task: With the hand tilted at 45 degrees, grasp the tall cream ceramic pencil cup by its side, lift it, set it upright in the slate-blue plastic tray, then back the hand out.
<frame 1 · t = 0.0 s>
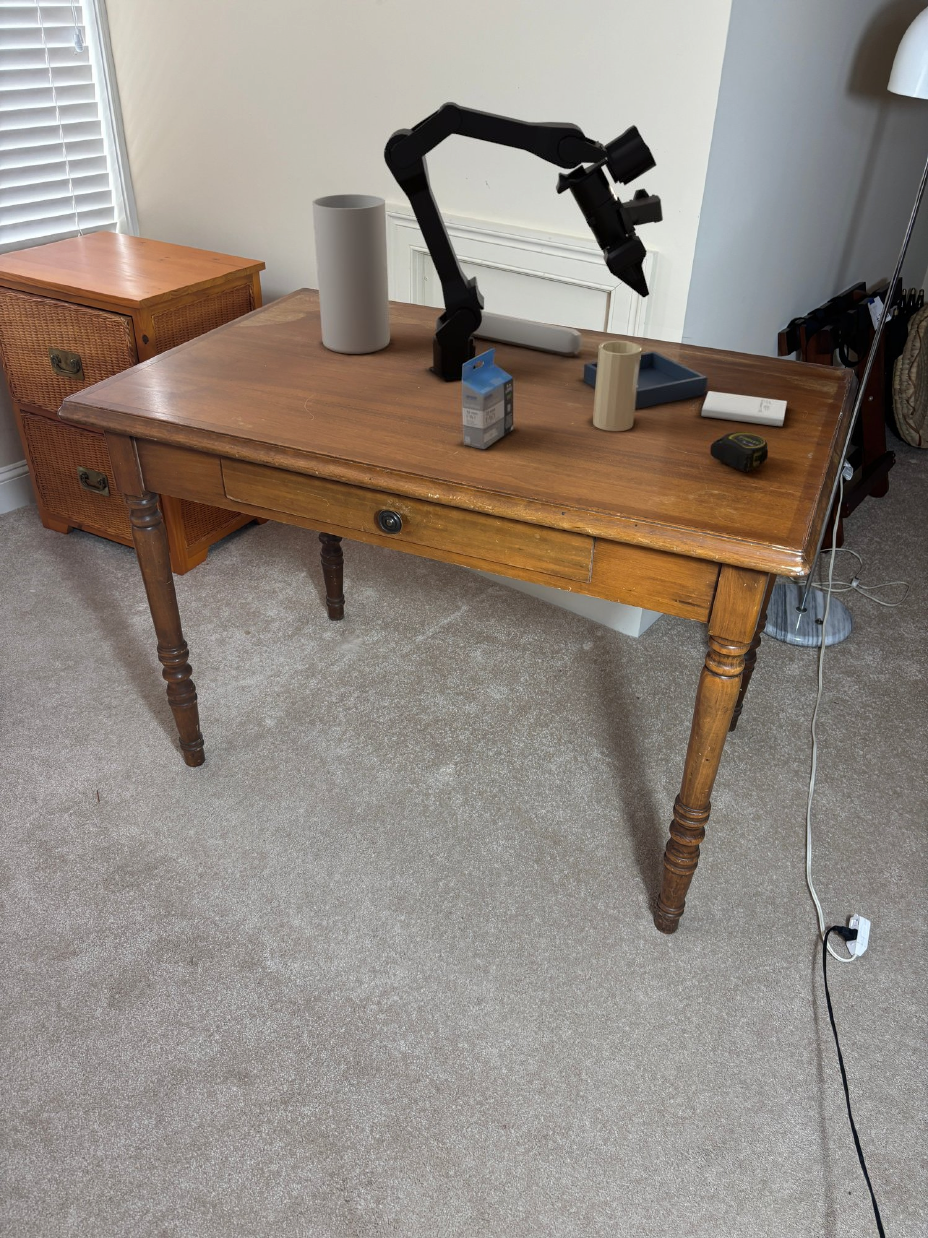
hand: (642, 287, 162), 15 cm above the table, tool tilted 35°, fingers open, 9 cm apart
pencil cup: (612, 423, 153), on the table
cylinder vase: (356, 345, 183), on the table
tray: (643, 387, 166), on the table
label tape box: (487, 438, 148), on the table
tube: (519, 345, 184), on the table
tape measure: (738, 467, 140), on the table
hard drive: (743, 414, 156), on the table
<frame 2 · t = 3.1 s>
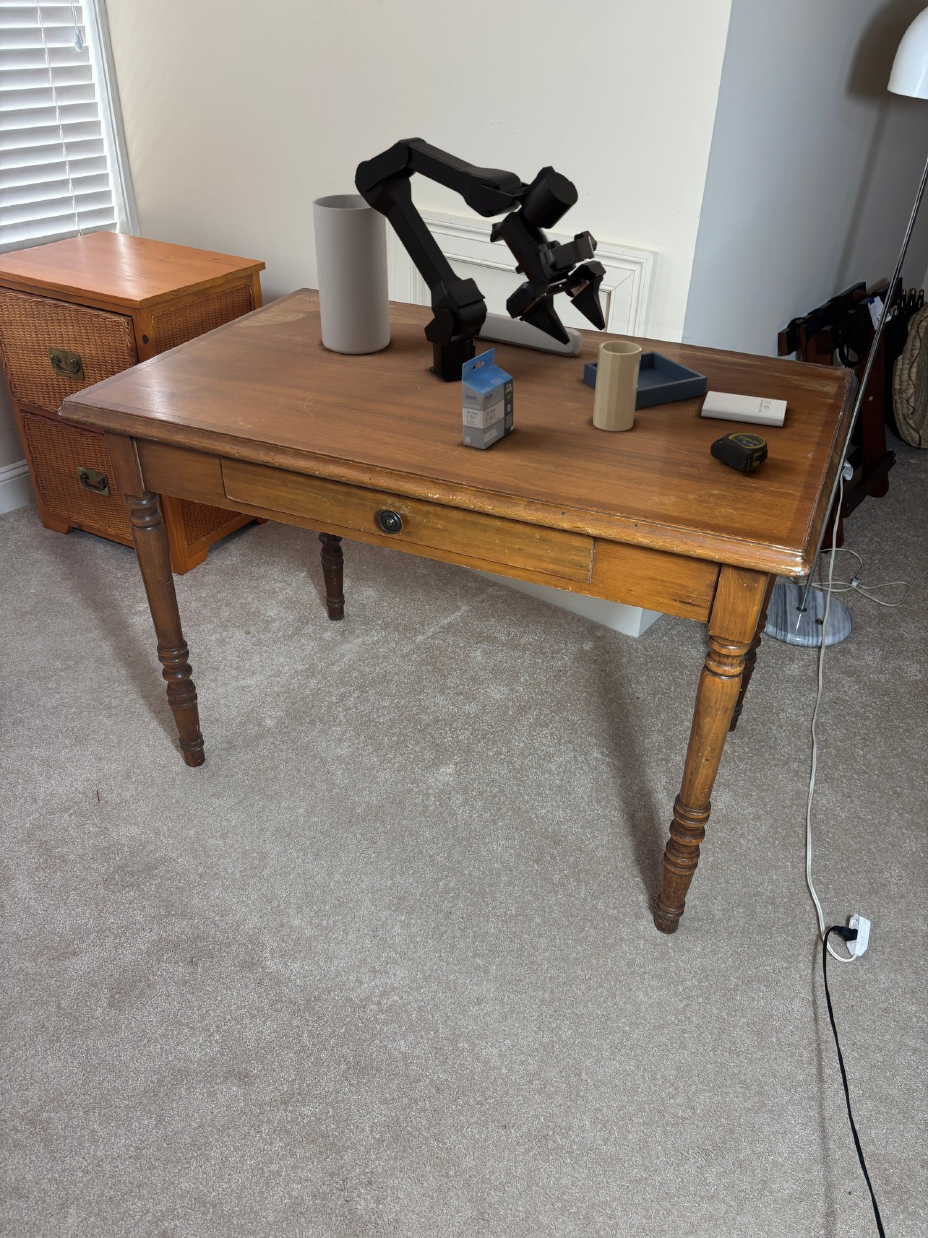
hand: (585, 335, 149), 12 cm above the table, tool tilted 45°, fingers open, 9 cm apart
nothing on the table moved.
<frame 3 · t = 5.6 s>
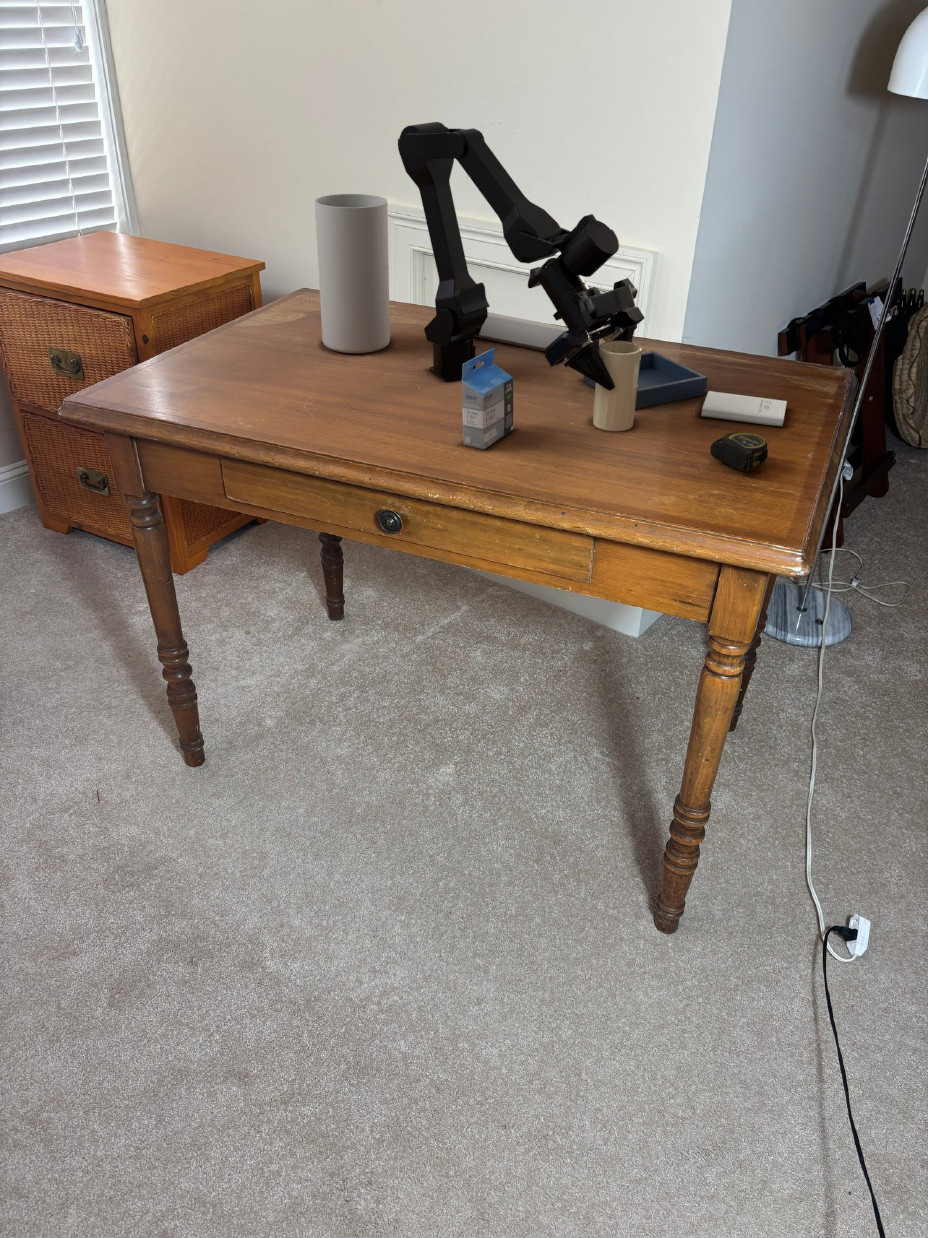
hand: (624, 383, 148), 7 cm above the table, tool tilted 45°, fingers closed on pencil cup, 6 cm apart
pencil cup: (613, 423, 153), on the table, touching gripper
everything else where it was.
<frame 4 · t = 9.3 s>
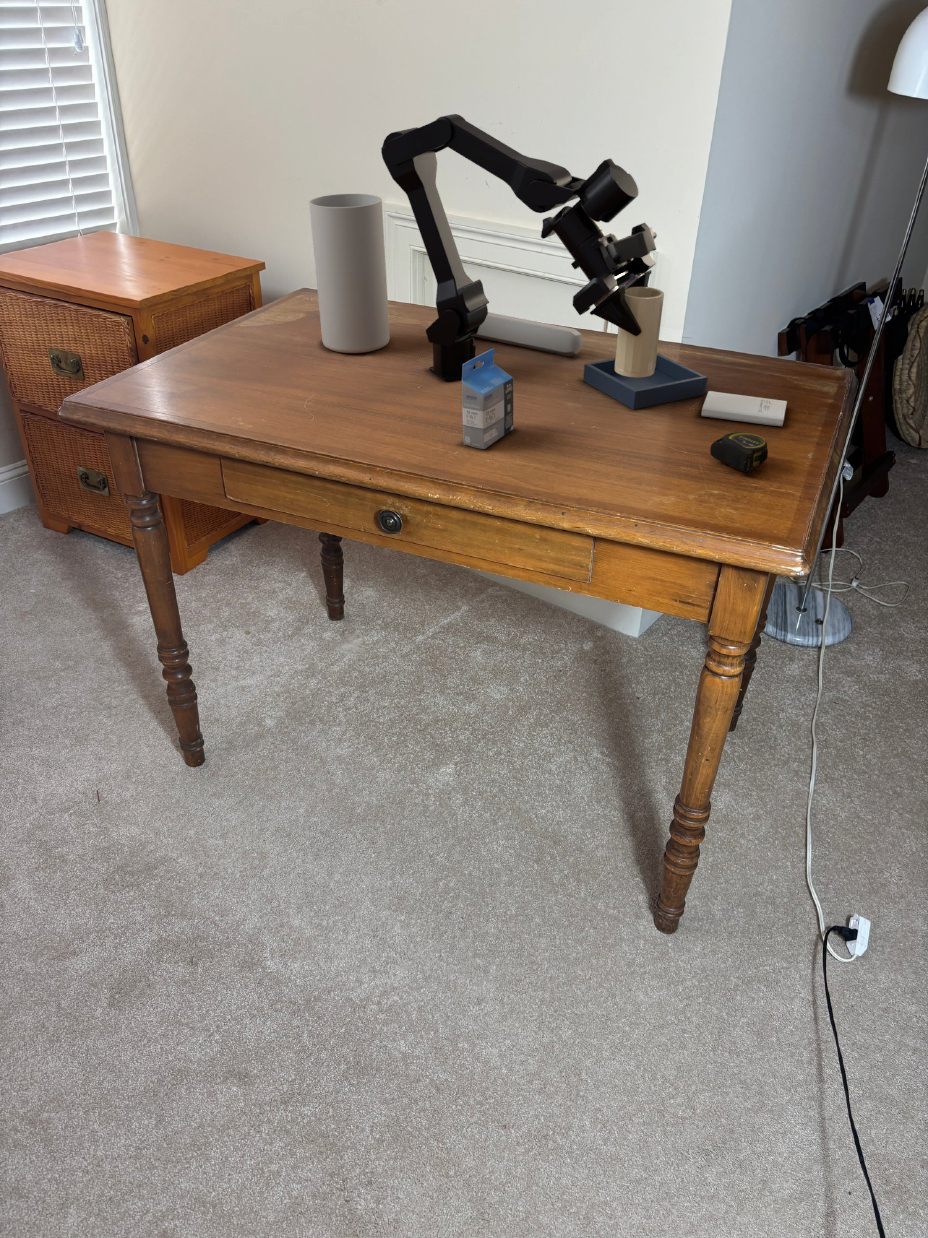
hand: (647, 328, 149), 13 cm above the table, tool tilted 45°, fingers closed on pencil cup, 6 cm apart
pencil cup: (634, 370, 153), point 7 cm above the table, touching gripper
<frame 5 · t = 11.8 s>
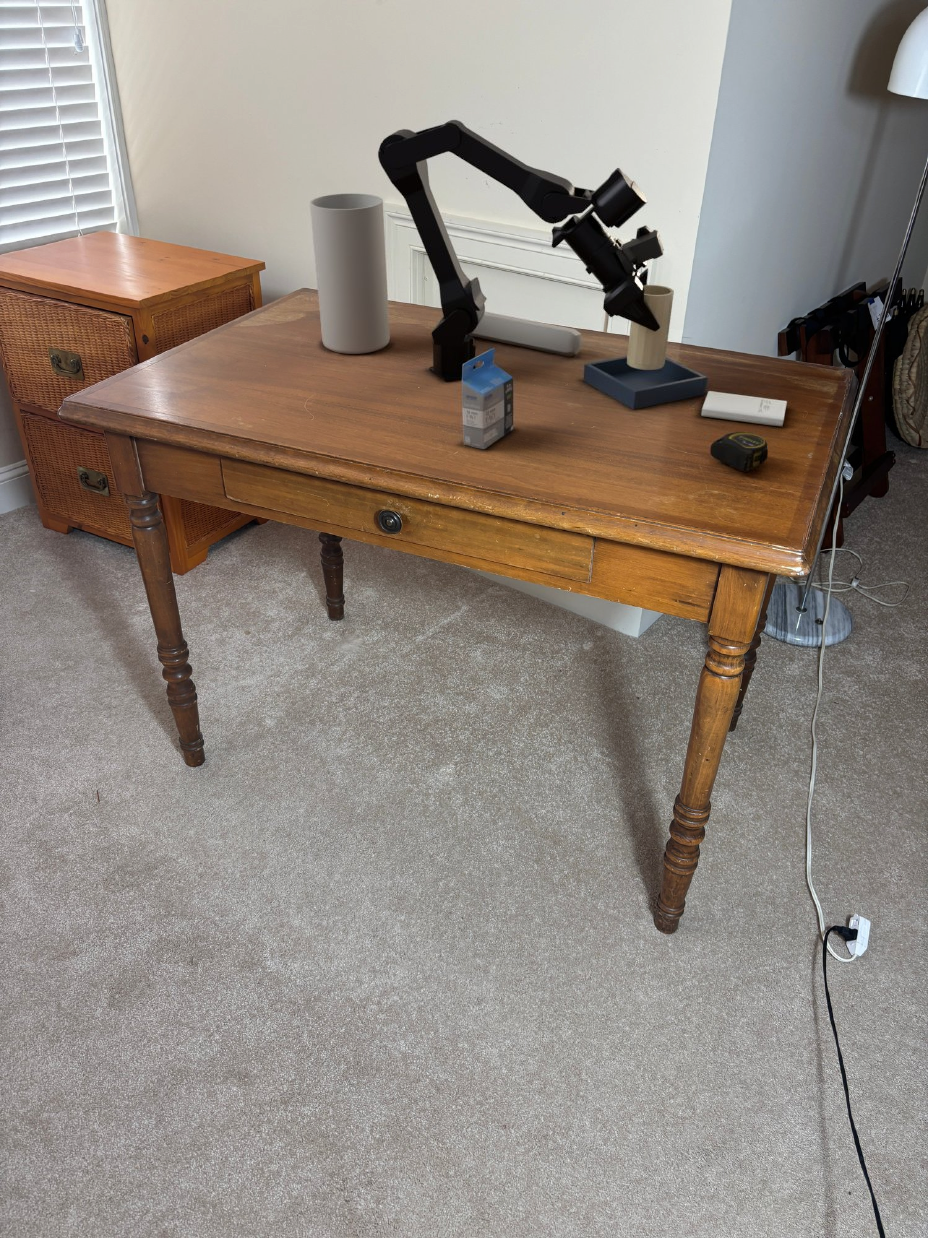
hand: (658, 323, 159), 11 cm above the table, tool tilted 45°, fingers closed on pencil cup, 6 cm apart
pencil cup: (645, 363, 163), point 4 cm above the table, touching gripper
everything else where it was.
when the fingers open (7 cm above the table, at t = 13.4 s): pencil cup stays where it is, resting on tray.
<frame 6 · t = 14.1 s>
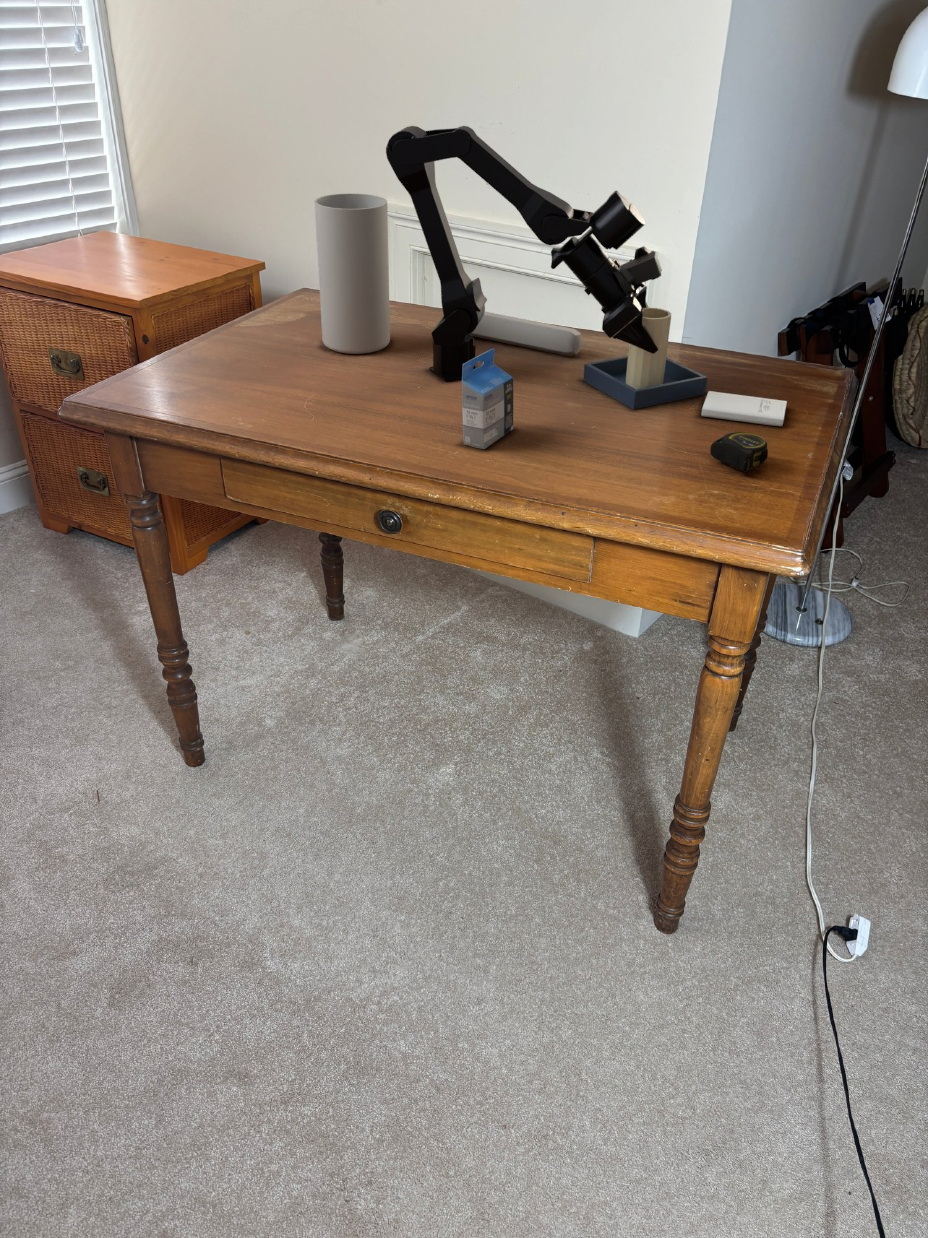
hand: (657, 342, 161), 8 cm above the table, tool tilted 45°, fingers open, 9 cm apart
pencil cup: (643, 384, 165), resting on tray
everything else where it was.
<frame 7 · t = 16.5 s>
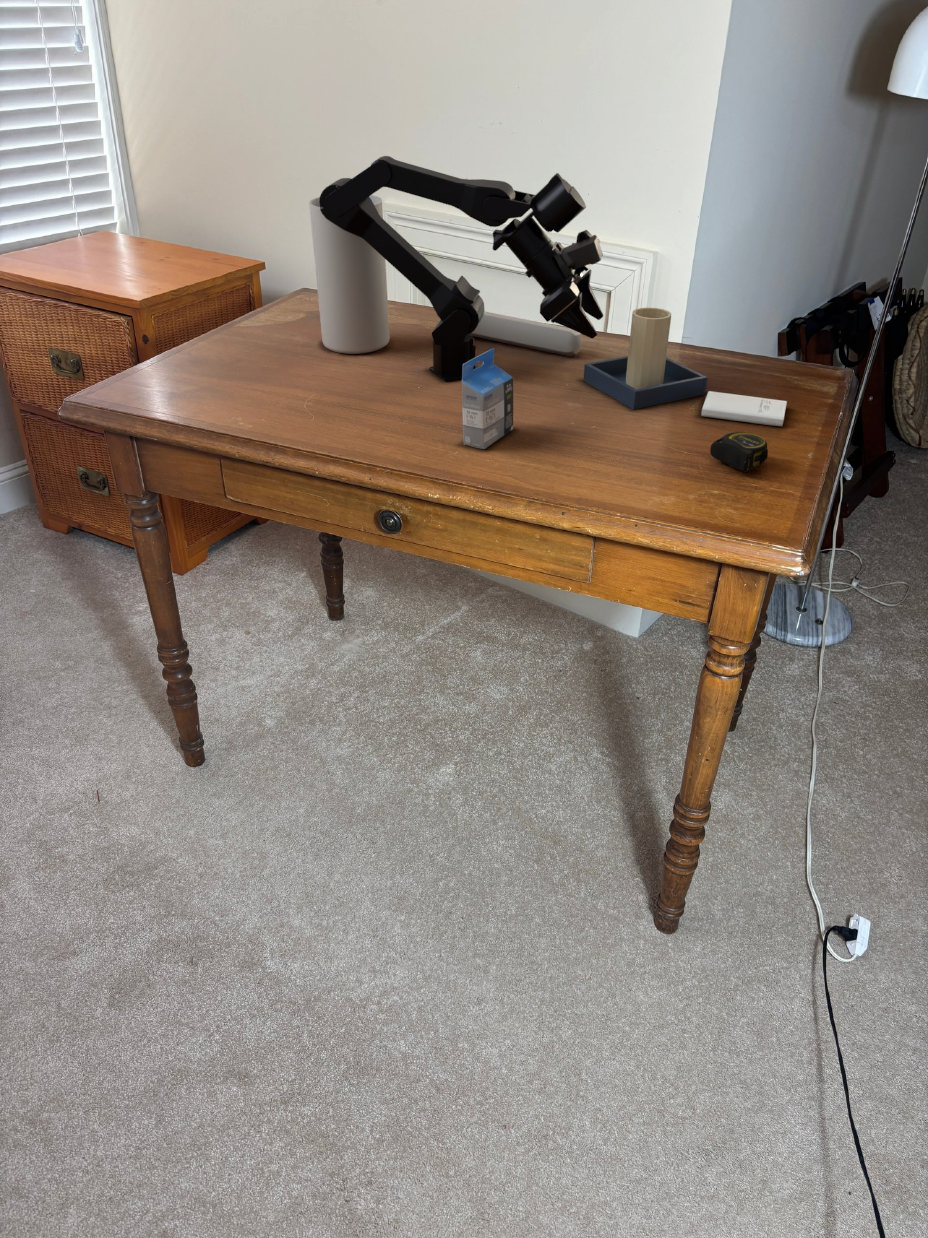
hand: (598, 326, 162), 10 cm above the table, tool tilted 45°, fingers open, 9 cm apart
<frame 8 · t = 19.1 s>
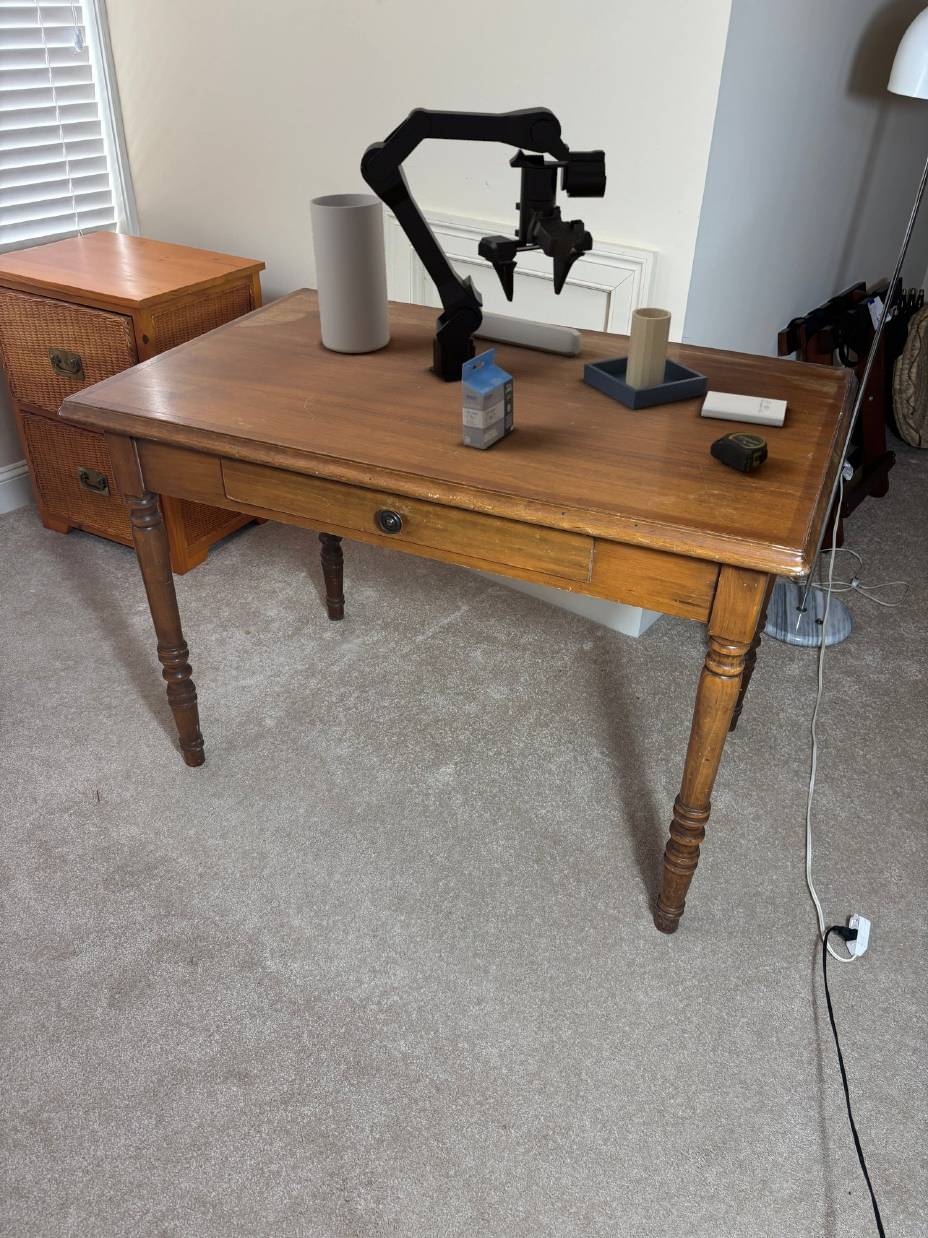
hand: (533, 297, 164), 13 cm above the table, tool pointing down, fingers open, 9 cm apart
nothing on the table moved.
at the end: pencil cup inside the target area in the tray (0.1 cm from its centre), point 0.5 cm above the tray's base; pencil cup tilted 0°; the gripper is holding nothing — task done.
